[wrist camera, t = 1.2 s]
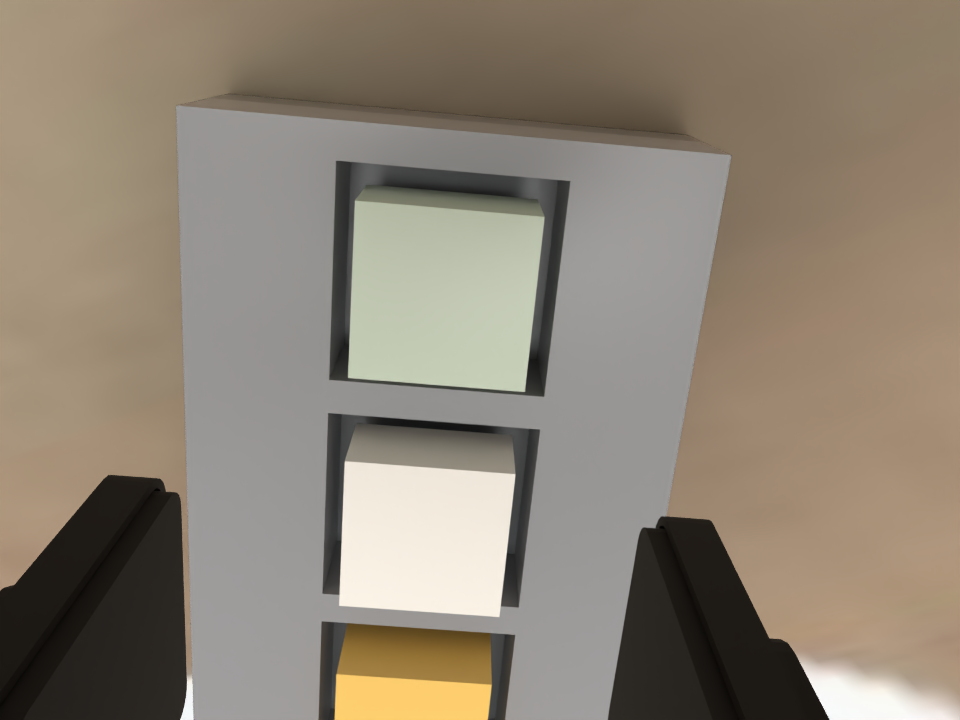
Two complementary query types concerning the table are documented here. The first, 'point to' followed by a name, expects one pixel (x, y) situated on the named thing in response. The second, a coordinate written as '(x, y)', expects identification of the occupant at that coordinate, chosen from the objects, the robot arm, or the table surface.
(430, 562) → the middle key
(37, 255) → the table surface
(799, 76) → the table surface
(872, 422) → the table surface
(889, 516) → the table surface
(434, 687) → the amber key
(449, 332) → the sage key
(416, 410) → the key console
